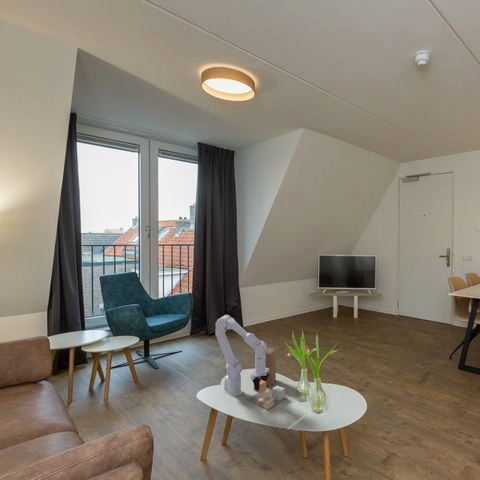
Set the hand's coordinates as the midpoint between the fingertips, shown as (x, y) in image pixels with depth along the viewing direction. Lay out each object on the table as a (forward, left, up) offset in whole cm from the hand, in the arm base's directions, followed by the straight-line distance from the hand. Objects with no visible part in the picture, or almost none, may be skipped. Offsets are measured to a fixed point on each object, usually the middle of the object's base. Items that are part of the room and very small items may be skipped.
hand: (259, 388), depth 180 cm
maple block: (+8, -5, -5) cm, 11 cm away
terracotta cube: (0, 0, -1) cm, 1 cm away
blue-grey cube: (+8, +6, -5) cm, 11 cm away
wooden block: (-9, +17, -5) cm, 20 cm away
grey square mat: (+5, +1, -5) cm, 7 cm away
